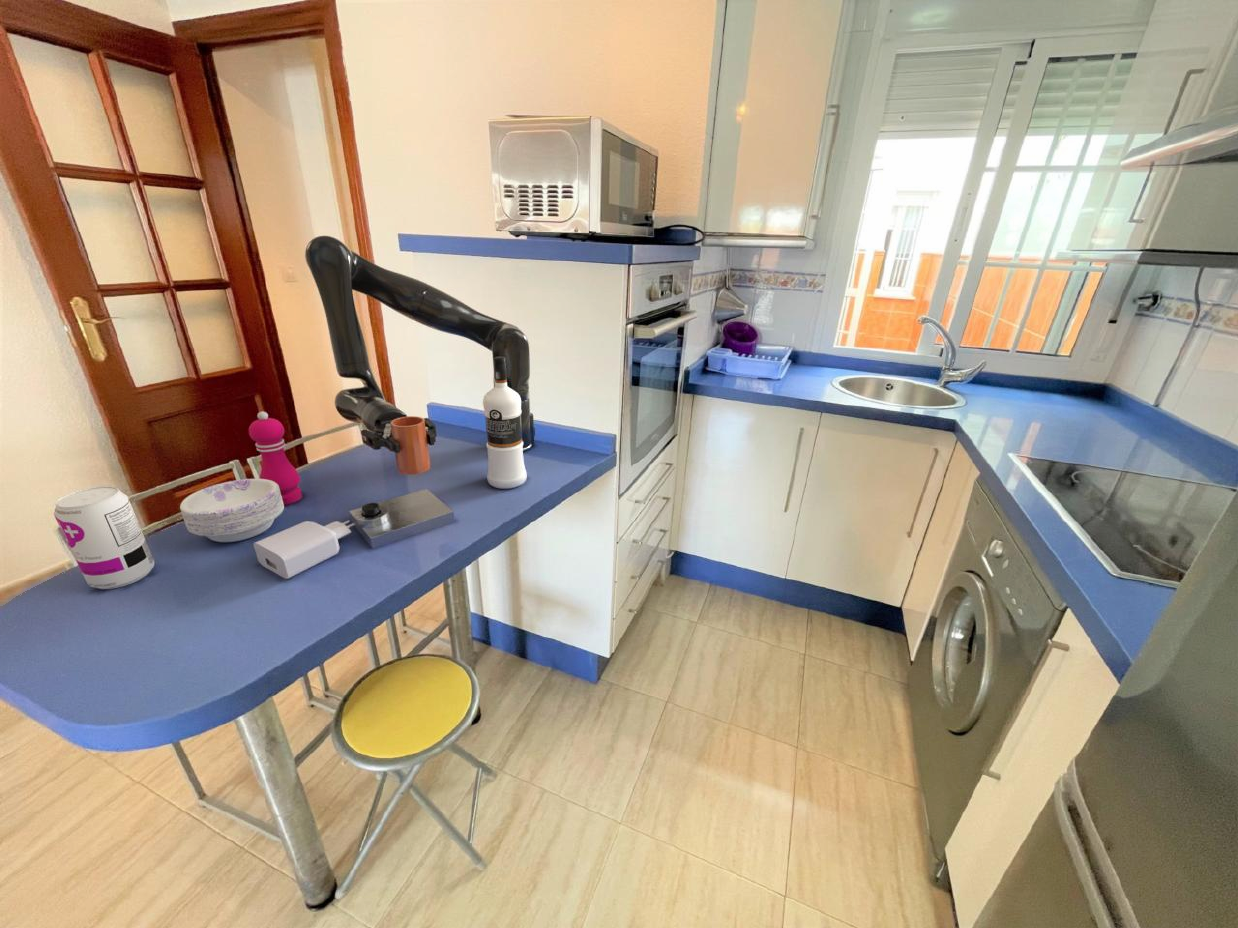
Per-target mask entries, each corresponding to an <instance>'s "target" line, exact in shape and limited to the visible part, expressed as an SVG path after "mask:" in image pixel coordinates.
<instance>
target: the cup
mask: <svg viewBox="0 0 1238 928" xmlns="http://www.w3.org/2000/svg"><path fill="white" fill-rule="evenodd" d="M407 416H408V415H407ZM391 430H392V436H393V438H394V439H395V440H396V441H398V443H399V447H400V453H395V452H394V453H395V454H394V455H395V461H396V468H397V472H398V473H400V474H402V475H406V476H408V475H409V476H411V475H420V474H423V473H426V472H428V471H430V470H431V457H430V452H429V451H430V450H429V444H428V442H427V434H426V426H425V419H424V417H422V416H414V415H413V416H412V415H409V416H408V417H401V418H397V419H394V420H393V421H391Z"/></svg>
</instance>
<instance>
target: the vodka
mask: <svg viewBox="0 0 1238 928" xmlns="http://www.w3.org/2000/svg"><path fill="white" fill-rule="evenodd" d="M493 360H494V368H493V375H494V374H495V387H494V386H493V388H491V389H490V390H489V391H487V392H486V393H485V394H484V396H483V397H482V398H483V399H482V406H483V415H484V421H485V433H486V450H487V459H488V460H487V461H488V463H487V473H486V480H487V482H488V484H489V485H490V486H492V487H493V488H496V489H500V490H510V489H515V488H518V487H520V486H522V485H524V483H526V481H527V479H528V476H527V470H526V465H525V459H524V451H523V441H522V428H521V412H522V411H521V398H520V396H519V394H518V393H517V392H515V391H514V390H512V389H511V388H509V387H508V386H507V377H506V363H505V357H494V358H493V357H492V361H493Z"/></svg>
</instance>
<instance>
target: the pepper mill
mask: <svg viewBox="0 0 1238 928" xmlns="http://www.w3.org/2000/svg"><path fill="white" fill-rule="evenodd" d="M256 417H257V419H255V420H254V421H252V422H251V424H250V425H249V427H248V435H249V437H250V438H251V440H252V441H254V442H255V444H254V445H255V447H256V451H258V452H259V453H260V456H261V461H262V462H261V470H260V475H259V479H266V480H271V481H274V482H275V483H277V484H278V486H279V489H280V492H281V496H282V500H283V504H284V506H288V505H291V504H294V503H296V502H298V501H299V500H301V499H302V496H303V495H302V490H301V488H300V487H299V485H300V483H301V477H300V474H299V472H298V471H297V469H296V468H295V467H294V465H293V464H292V463H291V462H290V461H289V459H288V457H287V455H286V453H285V447H286V443H285V439H284V438H283V437H284V435H285V428H284V425H283V424H282V422H281V421H280V420H278V419H276V418H273V417H269V414H268V413H267V412H266V411H259V412H258V413H257V416H256Z"/></svg>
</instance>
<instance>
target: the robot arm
mask: <svg viewBox="0 0 1238 928" xmlns="http://www.w3.org/2000/svg"><path fill="white" fill-rule="evenodd" d="M304 258H305V262H306V265H307V267H308V269H309V271H310V273H311V275H312V278H313V280H314V283H315V285H316V287H317V290H318V293H319V297H320V300H321V303H322V306H323V311H324V314H325V318H326V324H327V329H328V333H329V334H328V335H329V340H330V346H331V350H332V355H333V359H334V364H335V368H336V371H337V374H338V376H339V377H340V378H344V379H354V380H359V381H360V382H361V383H362V385H363V386H360V387H359V386H358V387H351V388H345V389H341V390H340V391H338V392H337V394H336V395H335V398H334V406H335V409H336V411H337V413H338V414H339V415H340V416H341V417H342V418H343V419H344V420H347V421H348V422H352V423H356V424H359V425H360V424H361V425H363V426H364V427H365V428H366V429H361V430H360V435H361V441H362V444H364V445H366V446H367V447H369V448H370V449H373V450H375V451H377V450H381V448H384V449H386V450H389V451H390V452H393V453H400V447H399V443H398V441H396V440H395V439H394V438H393V436H392V430H391V421H393V420H394V419H397V418H401V417H408V415H407V414H406V413H405V412H404V411H402V410H401V409H400V408H398V407H396V406H395V405H394V404H392V403H390V402H388V401H386V399H385V395H384V393H383V392H382V390H381V387H380V386H379V384H378V382H377V380H376V377H375V376H374V373H373V371H372V368H371V364H370V359H369V354H368V350H367V349H368V348H367V345H366V340H365V337H364V333H363V330H362V326H361V322H360V319H359V316H358V313H357V310H356V308H357V307H356V304H355V299H354V292H353V291H355V292H358V293H360V294H363V295H366V296H367V297H370V298H372V299H374V300H376V301H378V302H380V303H381V304H383V305H384V306H386V307H388V308H390V309H391V310H393V311H395V312H397V314H400V315H402V316H404V317H406V318H407V319H409V320H412V321H415V322H416V323H419V324H421V325H422V326H425V327H427V328H430V329H433V330H436V331H439V332H443V333H446V334H449V335H454V336H458V337H462V338H465V339H468V340H470V341H472V342H474V343H476V344H478V345H480V346H481V347H484V348H486V349H487V350H489V351H491V352H492V367H493V369H494V360H493V358H494V357H505V363H506V377H507V386H508V387H509V388H511V389H512V390H514V391H515V392H517V393H518V394H519V396H520V398H521V411H522V412H521V428H522V441H523V452H527V451H529V450H530V449H532V448H533V447H535V446H536V445H535V436H536V427H535V424H534V414H533V413H532V412H531V401H530V378H531V366H530V365H531V364H530V363H531V362H530V360H531V359H530V356H531V355H530V344H529V340H528V338H527V336H526V334H525V333H524V332H523V330H521V329H520V328H519V327H518V326H516V325H514V324H511V323H509V322H506V321H502V320H499V319H497V318H494V317H491V316H489V315H486V314H484V313H481V312H480V311H477V310H475V309H474V308H473V307H471V306H469V305H468V304H466V303H464V302H463V301H462V300H460V299H458V298H456V297H455V296H452V295H451V294H448V293H446V292H445V291H443V290H441V289H439V288H437V287H435V286H432V285H430V284H428V283H426V282H424V281H422V280H420V279H417V278H414V277H412V276H409V275H405V274H402V273H400V272H396V271H393V270H389V269H387V268H384V267H382V266H380V265H378V264H376V263H374V262H372V261H370V260H368V259H367V258H365V257H363V256H361V255H360V254H358V253H356V252H355V251H353V250H351V249H350V248H349V246H347V244H345V243H344V242H342V241H341V240H340V239H338V238H336V237H334V236H330V235H319V236H316V237H314V238H312V239H311V240H310V241H309V242H308V243H307V245H306V248H305V251H304ZM492 381H493V382H492V383H493V388H494V387H495V374H494V373H493V379H492ZM423 419H425V426H426V434H427V442H428V446H435V443H436V440H437V439H436V438H437V428H436V426H437V425H436V424H435V423H434V422H433V421H432V420H431V418H429V417H423Z"/></svg>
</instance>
